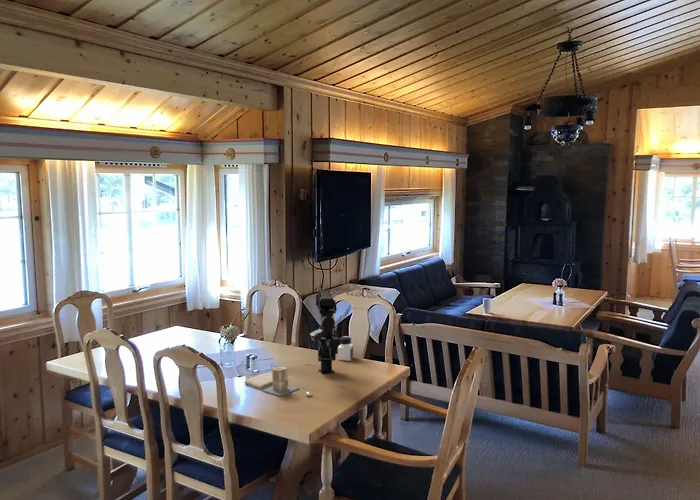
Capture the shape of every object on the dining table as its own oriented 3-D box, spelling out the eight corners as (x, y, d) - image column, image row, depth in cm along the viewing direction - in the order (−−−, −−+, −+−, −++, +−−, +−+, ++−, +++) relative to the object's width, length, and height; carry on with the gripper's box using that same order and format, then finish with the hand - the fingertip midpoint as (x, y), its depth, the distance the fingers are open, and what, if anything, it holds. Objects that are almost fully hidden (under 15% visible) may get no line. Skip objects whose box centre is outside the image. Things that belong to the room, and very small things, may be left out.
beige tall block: (280, 386, 278) (280, 366, 277) (288, 388, 275) (287, 368, 274) (272, 389, 274) (272, 369, 273) (280, 391, 271) (279, 371, 270)
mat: (280, 384, 283) (280, 382, 283) (298, 389, 275) (298, 388, 275) (262, 391, 274) (262, 390, 274) (280, 396, 266) (280, 395, 266)
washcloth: (288, 380, 289) (288, 374, 288) (260, 391, 275) (260, 384, 275) (272, 375, 296) (272, 369, 296) (244, 385, 283) (244, 379, 283)
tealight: (304, 394, 268) (304, 392, 268) (310, 393, 269) (310, 391, 269) (306, 397, 265) (306, 394, 265) (312, 395, 267) (312, 393, 266)
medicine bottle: (350, 360, 317) (350, 339, 315) (337, 360, 318) (337, 338, 317) (353, 356, 324) (352, 335, 322) (340, 356, 325) (340, 335, 324)
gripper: (304, 321, 286) (305, 352, 288) (319, 330, 270) (320, 363, 272) (325, 319, 291) (326, 349, 293) (341, 327, 275) (342, 359, 276)
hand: (327, 355), depth 284 cm, fingers open, 9 cm apart
